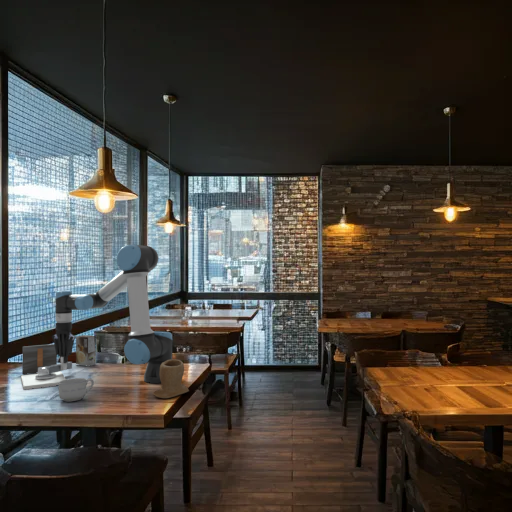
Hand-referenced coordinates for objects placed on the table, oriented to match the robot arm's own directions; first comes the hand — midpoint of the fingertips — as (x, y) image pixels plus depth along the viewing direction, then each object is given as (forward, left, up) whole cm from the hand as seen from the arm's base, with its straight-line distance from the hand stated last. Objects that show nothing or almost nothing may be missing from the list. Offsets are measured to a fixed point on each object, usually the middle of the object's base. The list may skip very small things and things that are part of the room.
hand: (63, 369), depth 224 cm
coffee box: (+26, -15, -4) cm, 30 cm away
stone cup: (-59, -36, -4) cm, 69 cm away
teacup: (-44, 0, -4) cm, 44 cm away
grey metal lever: (-1, +4, -2) cm, 5 cm away
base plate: (-4, +9, -4) cm, 11 cm away
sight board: (+18, +9, -4) cm, 21 cm away
